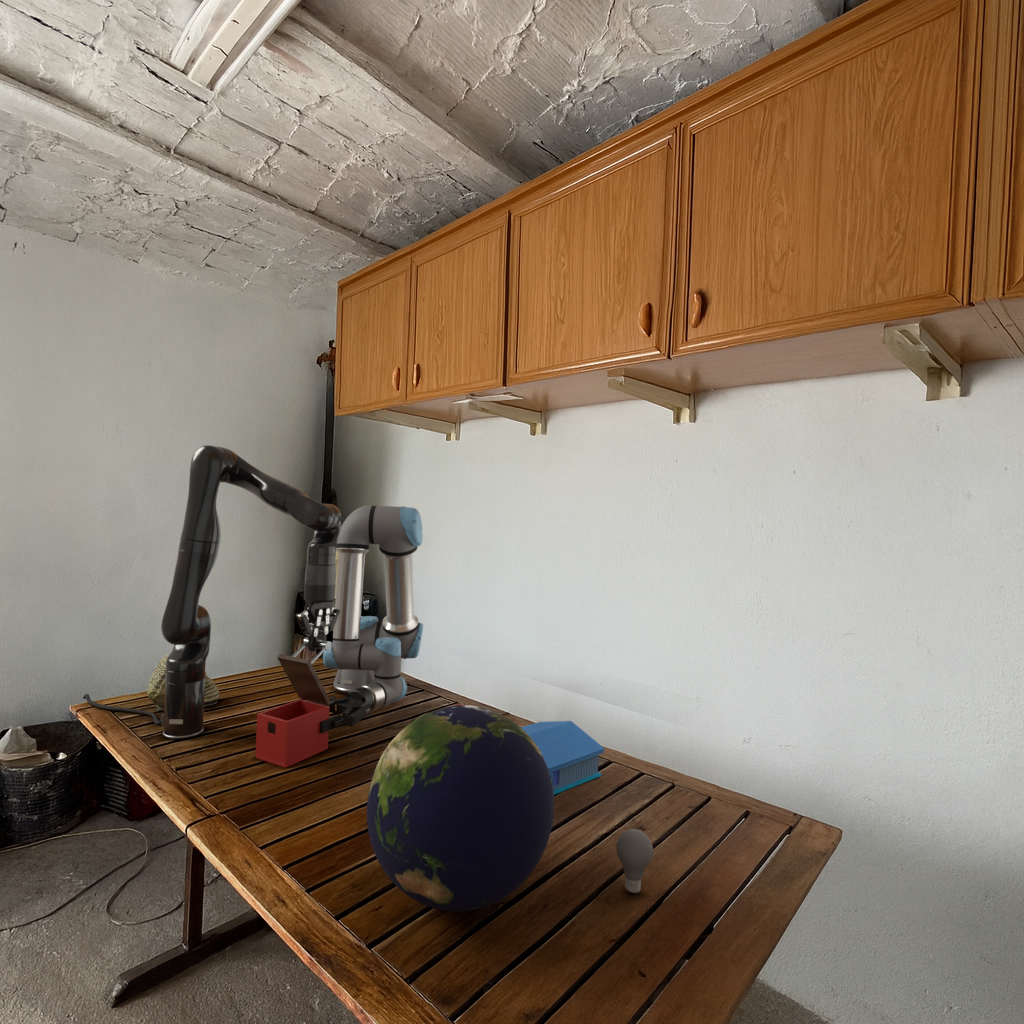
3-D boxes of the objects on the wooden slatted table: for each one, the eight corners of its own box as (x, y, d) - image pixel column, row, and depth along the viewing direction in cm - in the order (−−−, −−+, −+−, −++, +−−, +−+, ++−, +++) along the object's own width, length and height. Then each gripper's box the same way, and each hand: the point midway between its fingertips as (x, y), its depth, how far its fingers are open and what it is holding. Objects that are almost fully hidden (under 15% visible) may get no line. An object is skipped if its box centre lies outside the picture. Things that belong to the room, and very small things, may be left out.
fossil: (144, 707, 182) (145, 655, 182) (212, 696, 194) (213, 647, 194) (151, 716, 175) (153, 662, 175) (221, 703, 188) (223, 653, 188)
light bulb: (610, 879, 108) (613, 822, 108) (644, 879, 109) (647, 822, 109) (619, 902, 102) (622, 840, 102) (655, 901, 103) (658, 840, 103)
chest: (285, 768, 147) (287, 722, 147) (255, 758, 152) (257, 713, 151) (327, 748, 159) (329, 706, 159) (298, 740, 164) (300, 699, 163)
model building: (483, 834, 121) (485, 782, 121) (412, 787, 139) (414, 742, 139) (612, 780, 148) (614, 737, 147) (538, 746, 166) (540, 708, 166)
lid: (306, 663, 151) (331, 636, 158) (276, 656, 156) (302, 631, 163) (328, 705, 158) (351, 678, 165) (299, 698, 163) (322, 671, 170)
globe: (322, 922, 94) (330, 722, 94) (423, 829, 122) (430, 674, 122) (507, 988, 83) (517, 762, 83) (572, 869, 111) (580, 699, 110)
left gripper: (310, 585, 153) (307, 657, 153) (350, 581, 165) (346, 647, 165) (288, 582, 157) (284, 652, 157) (328, 578, 169) (325, 643, 169)
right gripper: (396, 721, 173) (338, 748, 153) (333, 705, 184) (272, 728, 164) (397, 694, 173) (340, 717, 153) (334, 679, 183) (273, 699, 164)
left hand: (316, 649), depth 161 cm, fingers closed on lid, 2 cm apart
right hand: (305, 723), depth 159 cm, fingers closed on chest, 10 cm apart
